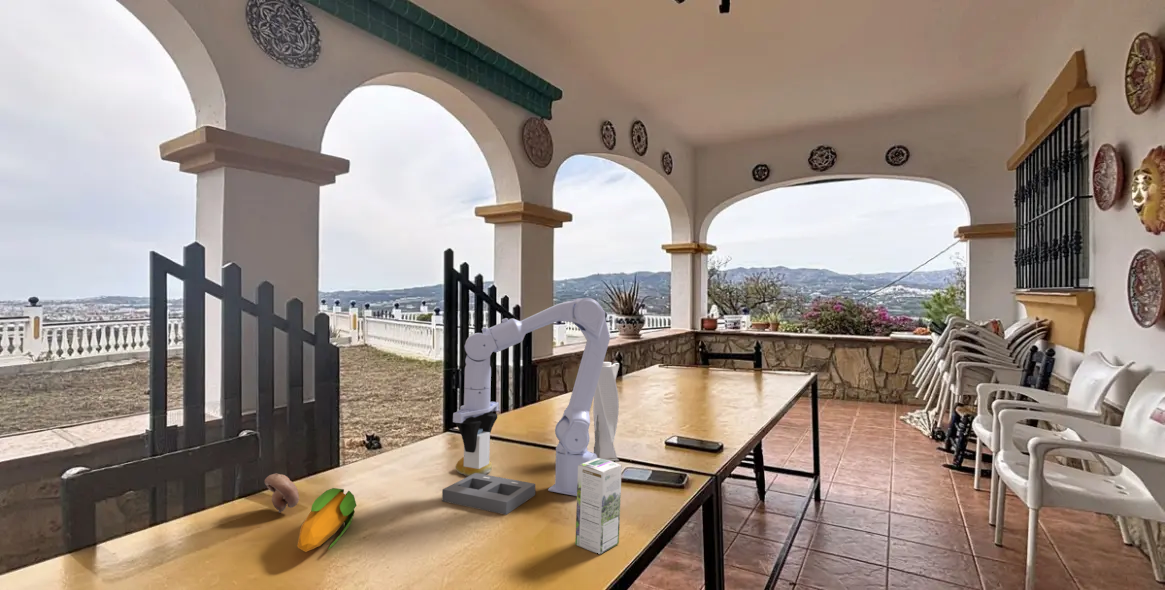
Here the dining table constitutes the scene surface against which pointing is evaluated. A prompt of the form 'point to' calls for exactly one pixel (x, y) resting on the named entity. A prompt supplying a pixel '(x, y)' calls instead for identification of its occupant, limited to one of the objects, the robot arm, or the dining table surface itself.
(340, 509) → the corn
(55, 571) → the dining table surface
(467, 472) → the bread roll
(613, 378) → the skyscraper
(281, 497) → the mushroom
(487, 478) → the port panel
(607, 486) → the syrup box
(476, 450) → the plug
